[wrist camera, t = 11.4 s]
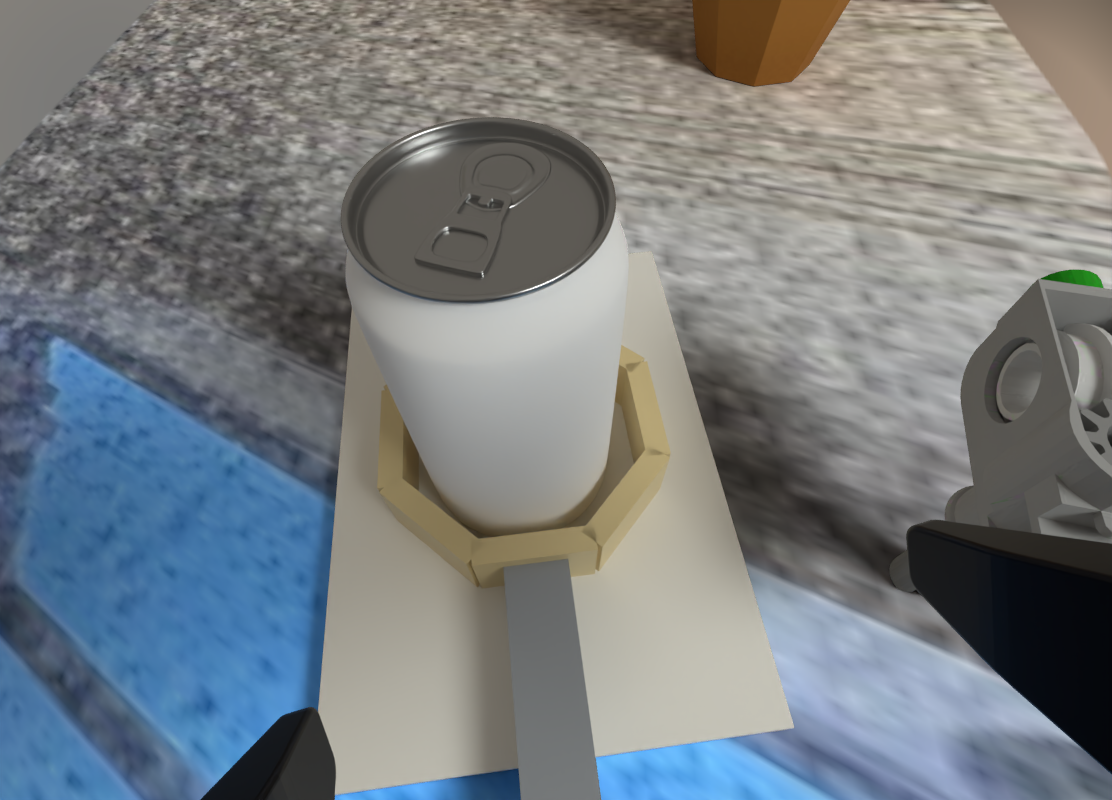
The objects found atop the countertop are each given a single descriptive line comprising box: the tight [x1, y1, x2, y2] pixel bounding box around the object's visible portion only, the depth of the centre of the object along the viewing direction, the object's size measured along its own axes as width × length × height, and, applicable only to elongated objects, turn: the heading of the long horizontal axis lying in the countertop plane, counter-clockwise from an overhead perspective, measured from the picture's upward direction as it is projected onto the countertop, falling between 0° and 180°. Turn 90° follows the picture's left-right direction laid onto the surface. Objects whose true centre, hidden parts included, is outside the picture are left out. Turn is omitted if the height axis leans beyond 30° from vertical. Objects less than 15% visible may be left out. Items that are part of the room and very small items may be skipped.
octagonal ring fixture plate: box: [318, 251, 794, 800], centre depth 22 cm, size 25×14×4 cm, turn 7°
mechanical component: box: [889, 270, 1112, 592], centre depth 16 cm, size 3×10×10 cm, turn 167°
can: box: [341, 117, 629, 537], centre depth 17 cm, size 6×6×12 cm
